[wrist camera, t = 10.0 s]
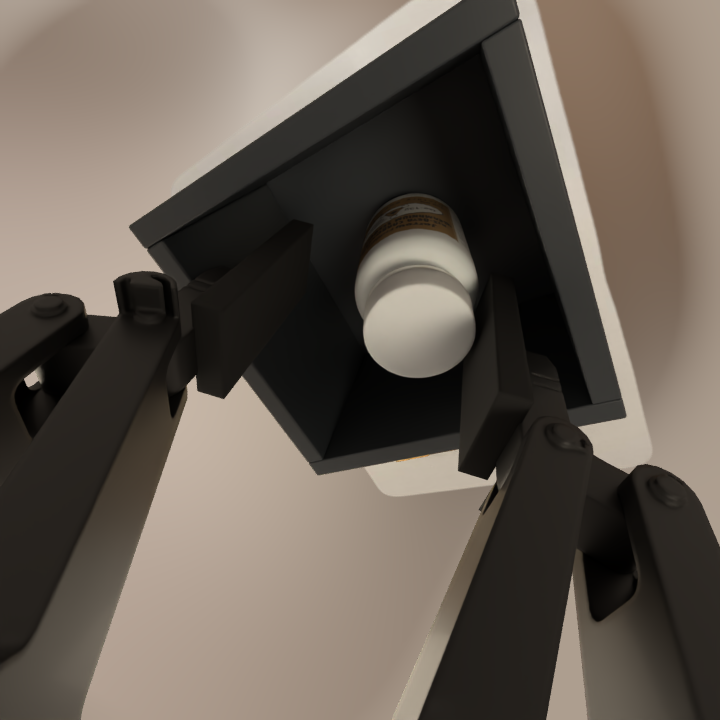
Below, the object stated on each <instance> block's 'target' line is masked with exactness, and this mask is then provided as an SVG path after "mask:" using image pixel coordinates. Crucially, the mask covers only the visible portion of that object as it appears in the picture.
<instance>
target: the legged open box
mask: <svg viewBox="0 0 720 720" xmlns="http://www.w3.org/2000/svg"><path fill="white" fill-rule="evenodd" d="M519 14H520V13H519V9H518V6H517V2H516V0H462V1H460V2H459V3H457V4H456V5H454V6H453V7H452V8H450V9H449V10H447V11H446V12H444V13H443V14H441V15H440V16H438V17H437V18H435V19H434V20H432V21H431V22H429V23H428V24H426V25H425V26H423V27H422V28H421V29H419V30H418V31H416V32H415V33H413V34H412V35H410V36H409V37H407V38H406V39H404V40H403V41H401V42H400V43H398V44H397V45H395V46H394V47H392V48H391V49H390V50H388V51H387V52H385V53H384V54H382V55H381V56H379V57H378V58H376V59H375V60H373V61H372V62H370V63H369V64H367V65H366V66H364V67H363V68H361V69H360V70H359V71H357V72H356V73H354V74H353V75H351V76H350V77H348V78H347V79H345V80H344V81H342V82H341V83H339V84H338V85H336V86H335V87H333V88H332V89H330V90H329V91H327V92H326V93H325V94H323V95H322V96H320V97H319V98H317V99H316V100H314V101H313V102H311V103H310V104H308V105H307V106H305V107H304V108H302V109H301V110H299V111H298V112H296V113H295V114H294V115H292V116H291V117H289V118H288V119H286V120H285V121H283V122H282V123H280V124H279V125H277V126H276V127H274V128H273V129H271V130H270V131H268V132H267V133H265V134H264V135H263V136H261V137H260V138H258V139H257V140H255V141H254V142H252V143H251V144H249V145H248V146H246V147H245V148H243V149H242V150H240V151H239V152H237V153H236V154H234V155H233V156H232V157H230V158H229V159H227V160H226V161H224V162H223V163H221V164H220V165H218V166H217V167H215V168H214V169H212V170H211V171H209V172H208V173H206V174H205V175H203V176H202V177H201V178H199V179H198V180H196V181H195V182H193V183H192V184H190V185H189V186H187V187H186V188H184V189H183V190H181V191H180V192H178V193H177V194H175V195H174V196H172V197H171V198H170V199H168V200H167V201H165V202H164V203H162V204H161V205H159V206H158V207H156V208H155V209H153V210H152V211H150V212H149V213H147V214H146V215H144V216H143V217H142V218H140V219H138V220H137V221H136V222H134V223H133V224H131V225H130V226H129V228H130V230H131V231H132V232H133V234H134V235H135V236H136V237H137V239H138V240H139V242H140V243H141V244H142V246H143V247H144V248H148V250H147V251H148V253H149V254H150V256H151V257H152V258H153V259H154V261H155V262H156V263H157V265H158V266H159V267H160V269H161V270H162V271H163V273H164V274H166V275H168V276H170V277H172V278H173V279H174V280H175V281H176V282H177V290H178V291H179V290H180V289H181V288H183V287H184V286H187V284H188V283H190V282H191V281H192V280H195V278H196V277H198V276H199V275H200V274H202V273H203V272H204V271H206V270H209V269H212V268H216V267H219V266H223V267H226V268H230V269H233V268H234V267H235V266H236V265H237V264H239V263H240V262H241V261H242V260H244V259H245V258H246V257H247V256H248V255H250V254H251V253H252V252H253V251H255V250H256V249H257V248H258V247H260V246H261V245H262V244H263V243H264V242H266V241H267V240H268V239H269V238H271V237H272V236H273V235H274V234H275V233H277V232H278V231H279V230H280V229H282V228H283V227H284V226H285V225H287V224H288V223H289V222H290V221H291V220H293V219H296V220H299V221H303V222H307V223H311V224H314V227H313V236H312V244H311V253H310V262H309V270H308V279H307V288H306V293H305V294H304V296H303V297H302V298H301V300H300V301H299V302H298V303H297V305H296V306H295V307H294V309H293V310H292V311H291V313H290V314H289V315H288V316H287V318H286V319H285V320H284V322H283V323H282V324H281V326H280V327H279V328H278V329H277V331H276V332H275V333H274V335H273V336H272V337H271V339H270V340H269V341H268V342H267V344H266V345H265V346H264V348H263V349H262V350H261V352H260V353H259V354H258V355H257V357H256V358H255V359H254V361H253V362H252V363H251V365H250V366H249V367H248V368H247V370H246V371H245V372H244V374H243V375H242V376H243V378H244V379H245V380H246V382H247V383H248V384H249V386H250V387H251V388H252V390H253V391H254V392H255V394H256V395H257V396H258V397H259V399H260V400H261V401H262V403H263V404H264V405H265V407H266V408H267V409H268V411H269V412H270V413H271V415H272V416H273V417H274V419H275V420H276V421H277V422H278V424H279V425H280V426H281V428H282V429H283V430H284V432H285V433H286V434H287V436H288V437H289V438H290V440H291V441H292V442H293V443H294V445H295V446H296V447H297V449H298V450H299V451H300V453H301V454H302V455H303V457H304V458H305V459H306V461H307V462H309V465H310V466H311V467H312V469H313V470H314V471H315V473H316V474H317V475H323V474H329V473H334V472H339V471H344V470H350V469H355V468H360V467H366V466H371V465H377V464H382V463H387V462H393V461H398V460H403V459H409V458H414V457H419V456H425V455H430V454H435V453H441V452H446V451H451V450H457V449H459V443H460V423H461V403H462V382H463V362H464V358H463V360H462V361H461V362H459V363H458V364H457V365H456V366H454V367H453V368H451V369H450V370H448V371H446V372H443V373H441V374H438V375H434V376H431V377H424V378H410V377H404V376H400V375H397V374H394V373H392V372H390V371H388V370H386V369H385V368H383V367H382V366H380V365H379V364H378V363H377V362H376V361H375V360H374V359H373V358H372V356H371V355H370V353H369V352H368V350H367V347H366V345H365V341H364V336H363V325H364V320H363V318H362V317H361V315H360V313H359V310H358V308H357V304H356V300H355V282H356V276H357V270H358V265H359V260H360V256H361V251H362V247H363V242H364V238H365V234H366V230H367V227H368V225H369V222H370V221H371V219H372V217H373V216H374V214H375V213H376V212H377V210H378V209H379V208H381V207H382V206H383V205H384V204H385V203H387V202H388V201H390V200H392V199H394V198H396V197H399V196H402V195H406V194H412V193H420V194H427V195H431V196H433V197H435V198H438V199H440V200H441V201H443V202H444V203H446V204H447V205H448V206H449V207H450V208H451V209H452V210H453V211H454V213H455V214H456V215H457V217H458V219H459V221H460V223H461V226H462V229H463V232H464V236H465V239H466V242H467V244H468V247H469V251H470V254H471V257H472V259H473V262H474V265H475V269H476V273H477V277H478V298H477V302H476V305H475V308H474V310H473V312H474V313H475V311H476V308H477V306H478V303H479V301H480V298H481V296H482V293H483V291H484V289H485V286H486V284H487V281H488V279H489V276H490V274H491V272H494V273H497V274H501V275H505V276H509V277H512V278H513V279H514V285H515V291H516V297H517V303H518V309H519V315H520V321H521V326H522V332H523V338H524V344H525V350H526V351H530V352H533V353H537V354H541V355H544V356H547V358H548V359H549V360H550V361H551V363H552V364H553V365H554V366H555V368H556V370H557V373H558V377H559V383H560V385H561V389H562V391H561V392H562V393H563V396H564V400H565V404H566V408H567V412H568V415H569V419H570V423H572V424H573V425H575V426H577V427H579V426H585V425H590V424H595V423H601V422H606V421H611V420H617V419H622V418H626V411H625V407H624V404H623V400H622V396H621V392H620V388H619V385H618V381H617V377H616V373H615V370H614V366H613V362H612V358H611V355H610V351H609V347H608V343H607V339H606V336H605V332H604V328H603V324H602V321H601V317H600V313H599V309H598V306H597V302H596V298H595V294H594V291H593V287H592V283H591V279H590V276H589V272H588V268H587V264H586V261H585V257H584V253H583V249H582V246H581V242H580V238H579V234H578V231H577V227H576V223H575V219H574V216H573V212H572V208H571V204H570V201H569V197H568V193H567V189H566V186H565V182H564V178H563V174H562V171H561V167H560V163H559V159H558V156H557V152H556V148H555V144H554V141H553V137H552V133H551V129H550V125H549V122H548V118H547V114H546V110H545V107H544V103H543V99H542V95H541V92H540V88H539V84H538V80H537V77H536V73H535V69H534V65H533V62H532V58H531V54H530V50H529V47H528V43H527V39H526V35H525V32H524V28H523V24H522V21H521V19H518V18H519Z"/></svg>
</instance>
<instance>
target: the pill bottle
mask: <svg viewBox="0 0 720 720" xmlns="http://www.w3.org/2000/svg"><path fill="white" fill-rule="evenodd" d="M477 298H478V277H477V273H476V269H475V265H474V262H473V259H472V257H471V254H470V251H469V247H468V244H467V242H466V239H465V236H464V232H463V229H462V226H461V223H460V221H459V219H458V217H457V215H456V214H455V213H454V211H453V210H452V209H451V208H450V207H449V206H448V205H447V204H446V203H444V202H443V201H441V200H440V199H438V198H435V197H433V196H431V195H427V194H420V193H412V194H406V195H402V196H399V197H396V198H394V199H392V200H390V201H388V202H387V203H385V204H384V205H383V206H382V207H381V208H379V209H378V210H377V212H376V213H375V214H374V216H373V217H372V219H371V221H370V222H369V225H368V227H367V230H366V234H365V238H364V242H363V247H362V251H361V256H360V260H359V265H358V270H357V276H356V282H355V300H356V304H357V308H358V310H359V313H360V315H361V317H362V318H363V320H364V325H363V336H364V341H365V345H366V347H367V350H368V352H369V353H370V355H371V356H372V358H373V359H374V360H375V361H376V362H377V363H378V364H379V365H380V366H382V367H383V368H385V369H386V370H388V371H390V372H392V373H394V374H397V375H400V376H404V377H410V378H424V377H431V376H434V375H438V374H441V373H443V372H446V371H448V370H450V369H451V368H453V367H454V366H456V365H457V364H458V363H459V362H461V361H462V360H463V358H464V357H465V356H466V355H467V354H468V352H469V351H470V349H471V347H472V345H473V343H474V340H475V335H476V322H475V317H474V312H473V310H474V308H475V305H476V302H477Z"/></svg>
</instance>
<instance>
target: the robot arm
mask: <svg viewBox="0 0 720 720" xmlns="http://www.w3.org/2000/svg"><path fill="white" fill-rule="evenodd" d="M313 227H314V224H311V223H307V222H303V221H299V220H296V219H293V220H291V221H290V222H289V223H288V224H287V225H285V226H284V227H283V228H282V229H280V230H279V231H278V232H277V233H275V234H274V235H273V236H272V237H271V238H269V239H268V240H267V241H266V242H264V243H263V244H262V245H261V246H260V247H258V248H257V249H256V250H255V251H253V252H252V253H251V254H250V255H248V256H247V257H246V258H245V259H244V260H242V261H241V262H240V263H239V264H237V265H236V266H235V267H234V268H233V269H230V268H226V267H223V266H219V267H216V268H212V269H209V270H206V271H204V272H203V273H202V274H200V275H199V276H198V277H196V278H195V280H192V281H191V282H190V283H188V284H187V286H184V287H183V288H181V289H180V290H179V291H178V290H177V282H176V281H175V280H174V279H173V278H172V277H170V276H168V275H166V274H162V273H158V272H150V271H149V272H148V271H141V272H133V273H128V274H125V275H122V276H120V277H118V278H117V279H116V280H114V281H113V283H114V288H115V293H116V298H117V303H118V308H119V315H118V316H117V317H109V316H97V315H87V313H86V309H85V306H84V303H83V302H82V301H81V300H80V299H79V298H77V297H74V296H72V295H68V294H60V293H53V294H51V293H48V294H42V295H39V296H34V297H31V298H29V299H26V300H24V301H22V302H20V303H18V304H16V305H15V306H13V307H11V308H10V309H8V310H6V311H5V312H3V313H1V314H0V720H81V714H82V709H83V705H84V701H85V698H86V695H87V692H88V689H89V686H90V683H91V680H92V677H93V674H94V671H95V668H96V665H97V663H98V660H99V657H100V653H101V651H102V647H103V645H104V642H105V639H106V636H107V633H108V630H109V627H110V624H111V621H112V618H113V615H114V613H115V610H116V607H117V603H118V600H119V598H120V595H121V592H122V589H123V586H124V583H125V580H126V577H127V574H128V571H129V568H130V565H131V563H132V559H133V557H134V554H135V551H136V548H137V545H138V542H139V539H140V536H141V533H142V530H143V527H144V524H145V521H146V518H147V515H148V513H149V509H150V507H151V503H152V501H153V498H154V495H155V492H156V489H157V486H158V483H159V480H160V477H161V474H162V471H163V468H164V465H165V462H166V460H167V457H168V453H169V450H170V448H171V445H172V442H173V439H174V436H175V433H176V430H177V427H178V424H179V421H180V418H181V415H182V412H183V409H184V407H185V403H186V401H187V384H188V383H189V382H190V381H191V379H193V378H194V377H195V375H196V379H197V390H198V391H199V392H202V393H206V394H209V395H212V396H215V397H219V398H222V399H224V398H225V397H226V396H227V394H228V393H229V392H230V391H231V389H232V388H233V387H234V385H235V384H236V383H237V381H238V380H239V379H240V378H241V376H242V375H243V374H244V372H245V371H246V370H247V368H248V367H249V366H250V365H251V363H252V362H253V361H254V359H255V358H256V357H257V355H258V354H259V353H260V352H261V350H262V349H263V348H264V346H265V345H266V344H267V342H268V341H269V340H270V339H271V337H272V336H273V335H274V333H275V332H276V331H277V329H278V328H279V327H280V326H281V324H282V323H283V322H284V320H285V319H286V318H287V316H288V315H289V314H290V313H291V311H292V310H293V309H294V307H295V306H296V305H297V303H298V302H299V301H300V300H301V298H302V297H303V296H304V294H305V293H306V288H307V279H308V270H309V262H310V253H311V244H312V236H313ZM474 317H475V322H476V335H475V340H474V343H473V345H472V347H471V349H470V351H469V352H468V354H467V355H466V356H465V357H464V362H463V382H462V403H461V423H460V443H459V463H458V471H460V472H463V473H466V474H469V475H473V476H476V477H479V478H482V479H486V480H488V478H489V477H490V475H491V473H492V472H493V470H494V468H495V467H496V476H497V481H496V483H495V484H494V486H493V488H492V489H491V491H490V492H489V494H488V496H487V497H486V499H485V500H484V502H483V504H482V505H481V507H480V508H479V510H480V511H481V513H480V516H479V518H478V520H477V523H476V525H475V527H474V530H473V532H472V535H471V537H470V539H469V542H468V544H467V546H466V548H465V551H464V553H463V555H462V558H461V560H460V562H459V564H458V567H457V569H456V571H455V574H454V576H453V578H452V581H451V583H450V585H449V588H448V590H447V592H446V595H445V597H444V599H443V602H442V604H441V606H440V609H439V611H438V614H437V616H436V618H435V620H434V623H433V625H432V627H431V630H430V632H429V634H428V637H427V639H426V641H425V643H424V646H423V648H422V650H421V653H420V655H419V657H418V660H417V662H416V665H415V667H414V669H413V671H412V674H411V676H410V678H409V681H408V683H407V685H406V688H405V690H404V692H403V695H402V697H401V699H400V701H399V704H398V706H397V708H396V711H395V713H394V715H393V718H392V720H546V717H547V711H548V706H549V700H550V695H551V689H552V683H553V678H554V672H555V666H556V661H557V655H558V650H559V643H560V638H561V633H562V627H563V621H564V616H565V609H566V605H567V599H568V593H569V588H570V581H571V576H572V573H573V582H574V590H575V601H576V611H577V620H578V630H579V639H580V650H581V659H582V669H583V678H584V688H585V697H586V707H587V717H588V720H720V546H719V544H718V542H717V539H716V537H715V535H714V532H713V530H712V528H711V525H710V523H709V520H708V518H707V516H706V514H705V511H704V509H703V506H702V504H701V502H700V501H699V499H698V497H697V496H696V494H695V493H694V492H693V491H692V490H691V489H690V487H689V486H688V485H686V483H685V482H684V481H682V480H681V479H680V478H678V477H676V476H675V475H674V474H672V473H670V472H668V471H666V470H664V469H662V468H659V467H657V466H652V465H648V464H644V465H637V466H636V468H635V469H634V470H633V471H632V472H631V473H630V474H627V473H625V472H624V471H622V470H620V469H618V468H616V467H614V466H612V465H610V464H608V463H606V462H605V461H603V460H601V459H599V458H598V457H596V456H595V455H593V446H592V443H591V442H590V440H589V439H588V437H587V435H585V434H584V433H583V432H582V431H581V430H580V429H579V428H578V427H577V426H575V425H573V424H572V423H570V419H569V415H568V412H567V408H566V404H565V400H564V396H563V393H562V392H561V391H562V389H561V385H560V383H559V377H558V373H557V370H556V368H555V366H554V365H553V364H552V363H551V361H550V360H549V359H548V358H547V356H544V355H541V354H537V353H533V352H530V351H526V350H525V344H524V338H523V332H522V326H521V321H520V315H519V309H518V303H517V297H516V291H515V285H514V279H513V278H512V277H509V276H505V275H501V274H497V273H494V272H491V274H490V276H489V279H488V281H487V284H486V286H485V289H484V291H483V293H482V296H481V298H480V301H479V303H478V306H477V308H476V311H475V313H474ZM34 370H35V371H36V374H37V377H38V379H39V381H38V382H36V383H35V384H34V385H32V386H30V387H27V386H26V383H25V381H24V378H25V377H27V376H28V375H29V374H31V373H32V372H33V371H34Z"/></svg>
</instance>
